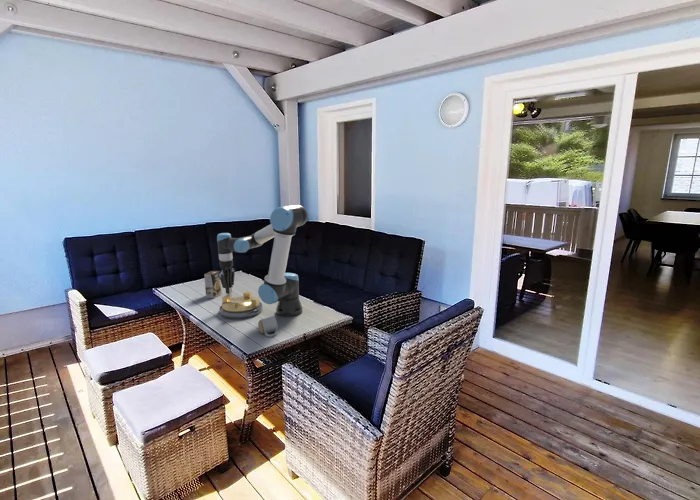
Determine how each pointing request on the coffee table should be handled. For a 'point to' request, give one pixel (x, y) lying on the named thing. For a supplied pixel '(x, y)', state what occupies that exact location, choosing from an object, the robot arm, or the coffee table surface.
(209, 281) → the printed cardboard box
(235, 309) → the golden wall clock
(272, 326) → the ceramic mug
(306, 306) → the coffee table surface
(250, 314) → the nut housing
